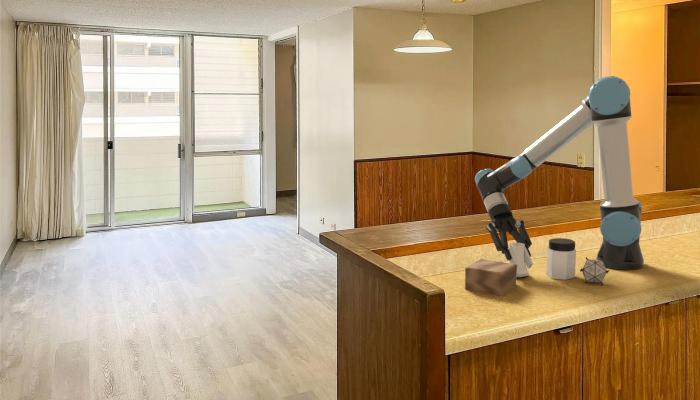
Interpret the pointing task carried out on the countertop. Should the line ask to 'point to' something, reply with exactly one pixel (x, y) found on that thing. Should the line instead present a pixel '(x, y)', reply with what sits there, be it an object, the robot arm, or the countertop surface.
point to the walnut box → (490, 277)
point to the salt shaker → (519, 259)
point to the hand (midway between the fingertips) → (523, 266)
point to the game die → (594, 270)
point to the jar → (561, 259)
